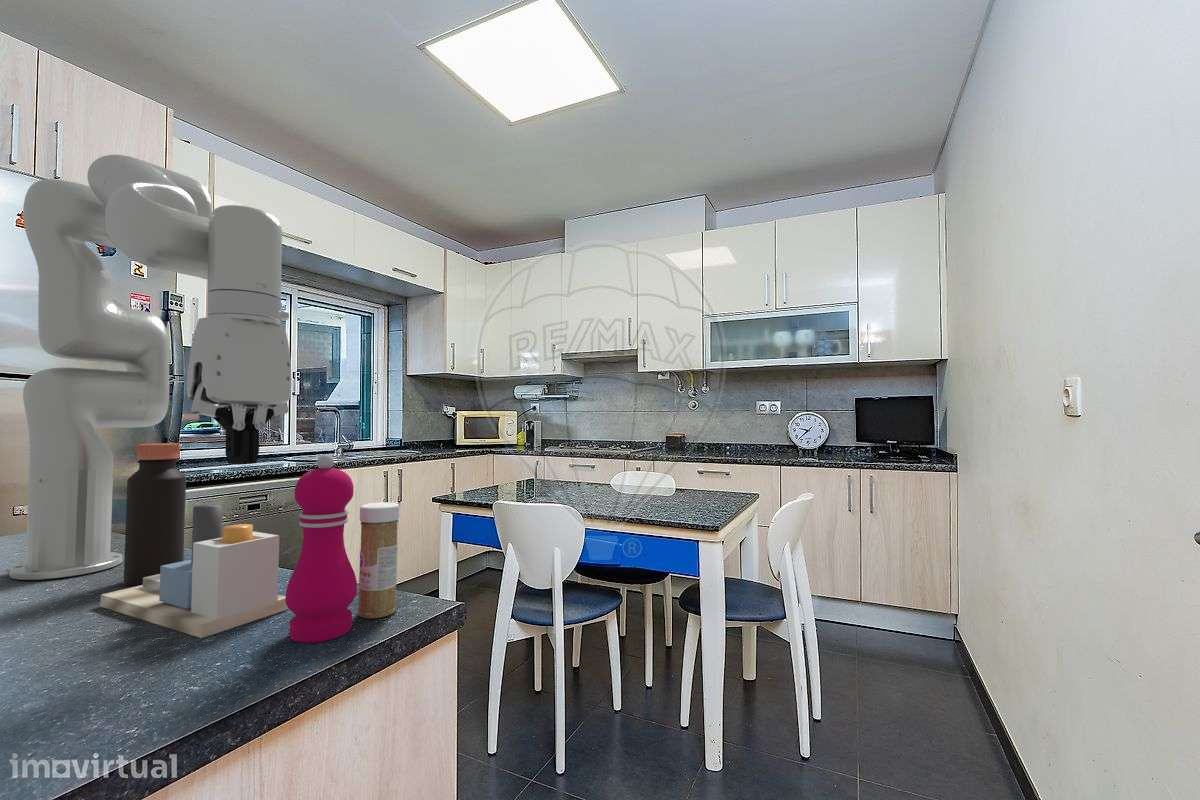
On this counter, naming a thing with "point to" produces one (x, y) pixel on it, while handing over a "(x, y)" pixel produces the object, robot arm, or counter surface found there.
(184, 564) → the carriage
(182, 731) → the counter surface
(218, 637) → the counter surface
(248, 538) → the plunger
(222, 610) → the white box holder
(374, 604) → the sprinkles bottle
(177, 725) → the counter surface
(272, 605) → the rail base
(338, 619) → the pepper mill
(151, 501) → the vinegar
